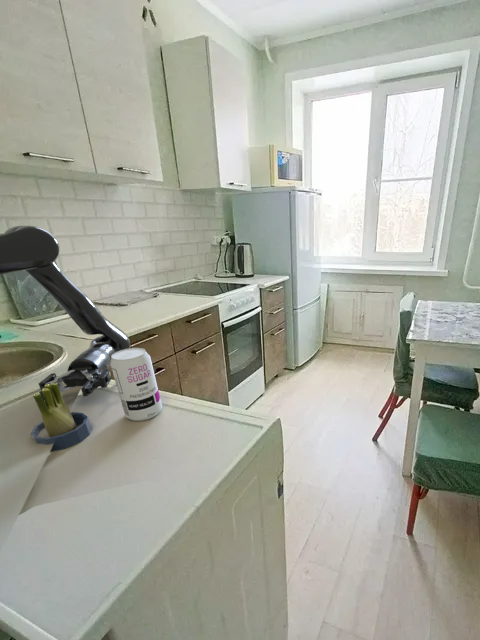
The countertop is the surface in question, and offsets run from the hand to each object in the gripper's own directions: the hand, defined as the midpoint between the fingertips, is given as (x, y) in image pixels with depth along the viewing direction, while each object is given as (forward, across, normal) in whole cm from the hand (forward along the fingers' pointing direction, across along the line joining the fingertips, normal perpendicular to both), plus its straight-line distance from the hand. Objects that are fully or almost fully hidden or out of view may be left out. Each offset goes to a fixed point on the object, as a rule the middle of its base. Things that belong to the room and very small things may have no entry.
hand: (63, 394), depth 77 cm
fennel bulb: (+5, 0, +8) cm, 9 cm away
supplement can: (-2, +15, +8) cm, 17 cm away
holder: (+5, 0, +8) cm, 9 cm away
